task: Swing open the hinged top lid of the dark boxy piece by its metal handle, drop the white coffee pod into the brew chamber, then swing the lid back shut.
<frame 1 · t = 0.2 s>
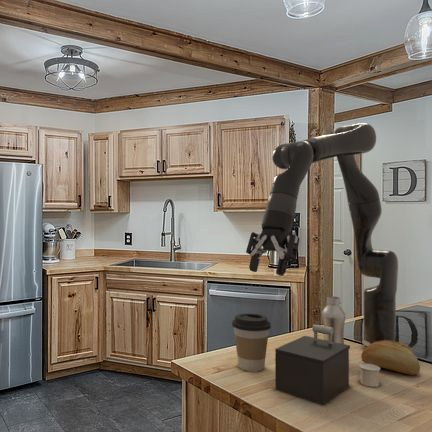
hand: (265, 273, 110), 31 cm above the counter, tool tilted 20°, fingers open, 8 cm apart
coffee pod: (369, 383, 115), on the counter
plastic bottle: (333, 363, 131), on the counter
coffee cup: (251, 367, 128), on the counter
brew lid: (313, 340, 113), point 12 cm above the counter, hinge at 0.0°
bread roll: (390, 369, 125), on the counter
dark boxy piece: (312, 387, 113), on the counter
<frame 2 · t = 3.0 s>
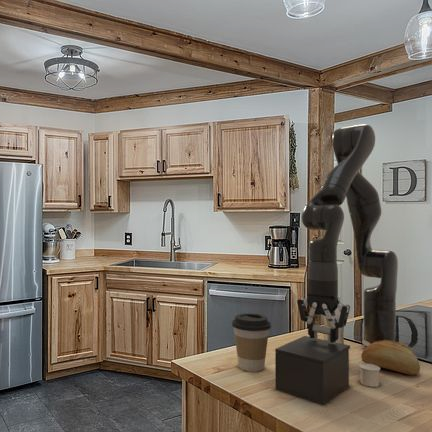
hand: (322, 339, 117), 11 cm above the counter, tool pointing down, fingers closed on brew lid, 5 cm apart
brew lid: (313, 340, 113), point 12 cm above the counter, hinge at 0.0°, touching gripper
everything else where it was.
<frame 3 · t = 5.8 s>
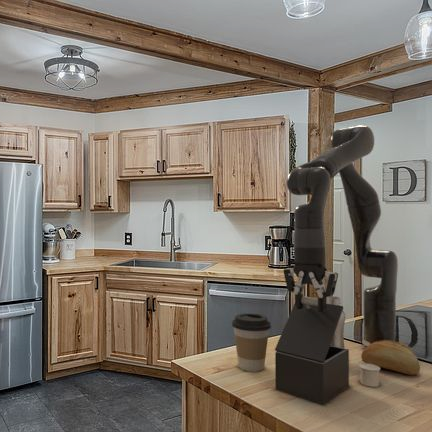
hand: (310, 309, 112), 21 cm above the counter, tool pointing down, fingers closed on brew lid, 5 cm apart
brew lid: (306, 323, 110), point 18 cm above the counter, hinge at 43.7°, touching gripper
everything else where it was.
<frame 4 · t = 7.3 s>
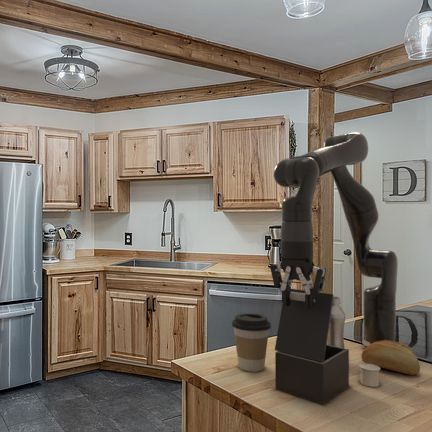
hand: (297, 306, 107), 23 cm above the counter, tool pointing down, fingers closed on brew lid, 5 cm apart
brew lid: (299, 321, 108), point 19 cm above the counter, hinge at 69.7°, touching gripper
everything else where it was.
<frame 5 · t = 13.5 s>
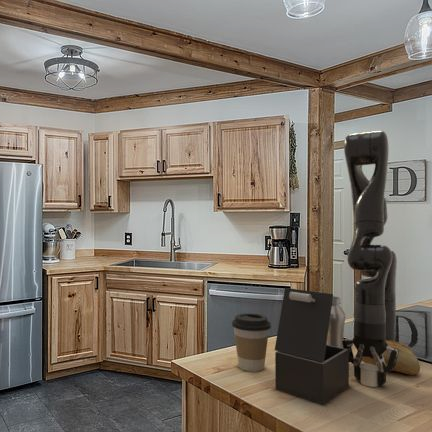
hand: (369, 381, 115), 0 cm above the counter, tool pointing down, fingers closed on coffee pod, 5 cm apart
coffee pod: (369, 383, 115), on the counter, touching gripper
brew lid: (299, 321, 108), point 19 cm above the counter, hinge at 70.3°
everything else where it was.
when the fingers open (15 cm above the counter, at t = 18.5 s): coffee pod drops 12 cm and tips over, resting on dark boxy piece.
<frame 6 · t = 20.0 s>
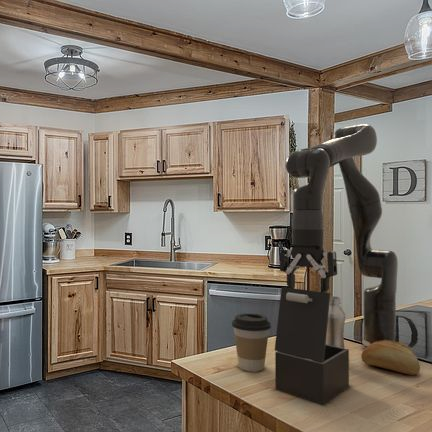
hand: (307, 290, 111), 26 cm above the counter, tool pointing down, fingers open, 8 cm apart
coffee pod: (315, 374, 115), point 2 cm above the counter, tilted 50°, touching dark boxy piece
brew lid: (297, 322, 107), point 19 cm above the counter, hinge at 76.7°, touching gripper
everything else where it was.
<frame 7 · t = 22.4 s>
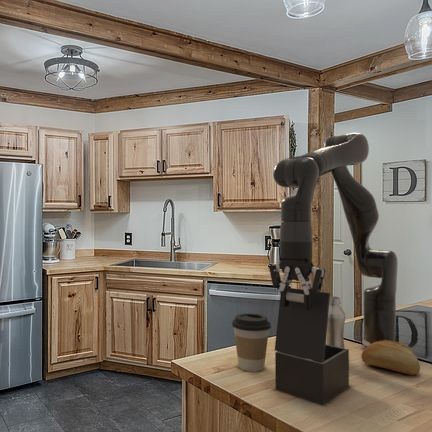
hand: (296, 307, 106), 23 cm above the counter, tool pointing down, fingers closed on brew lid, 5 cm apart
brew lid: (297, 322, 107), point 19 cm above the counter, hinge at 77.0°, touching gripper
everything else where it was.
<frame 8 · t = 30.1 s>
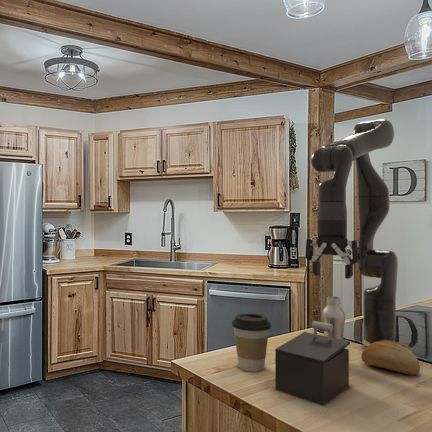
hand: (332, 276, 119), 28 cm above the counter, tool pointing down, fingers open, 8 cm apart
brew lid: (312, 338, 113), point 13 cm above the counter, hinge at 4.0°
everything else where it was.
at the end: brew lid reached +77° during the clip, +4° at the end; coffee pod inside the target area in the dark boxy piece (3.0 cm from its centre), point 2.5 cm above the dark boxy piece's base; brew lid at +4° (first picture: +0°) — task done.
